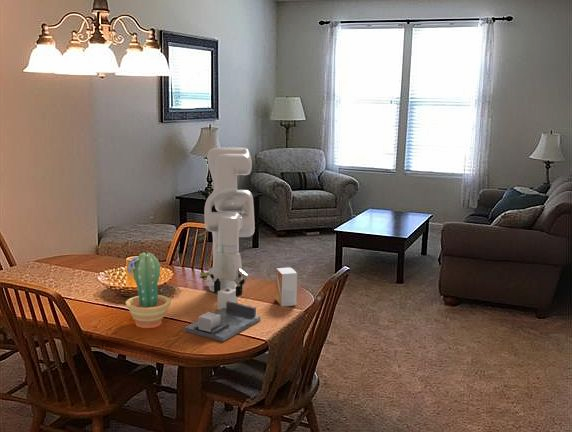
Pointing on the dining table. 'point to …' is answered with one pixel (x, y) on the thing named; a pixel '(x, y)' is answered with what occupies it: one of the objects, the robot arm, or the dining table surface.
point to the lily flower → (205, 274)
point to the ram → (209, 321)
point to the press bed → (228, 322)
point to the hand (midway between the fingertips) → (227, 293)
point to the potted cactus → (147, 292)
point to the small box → (286, 286)
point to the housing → (226, 297)
